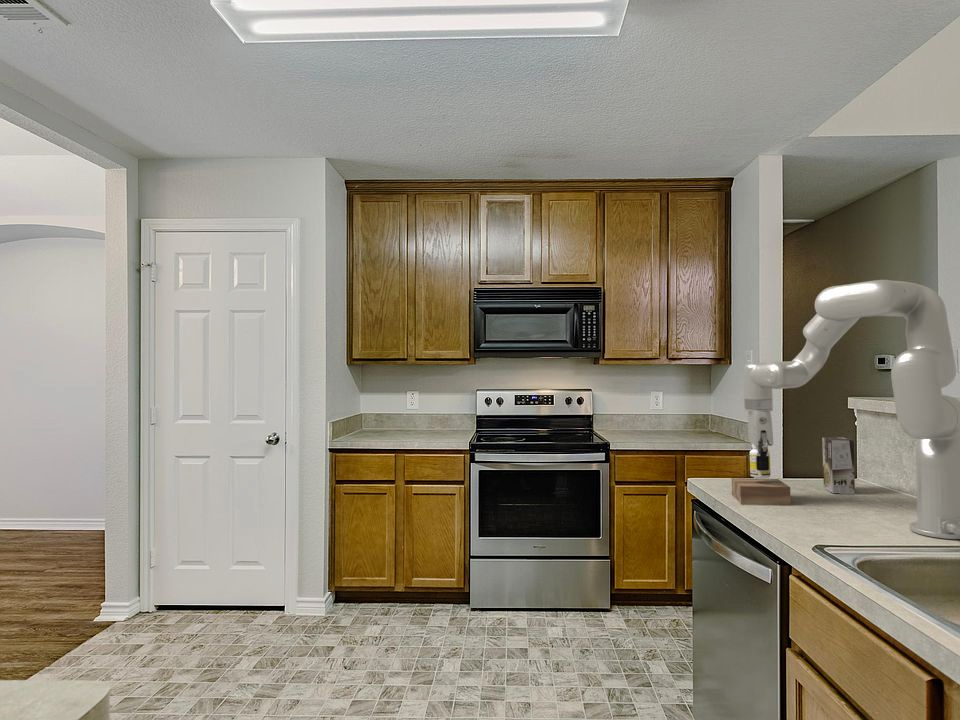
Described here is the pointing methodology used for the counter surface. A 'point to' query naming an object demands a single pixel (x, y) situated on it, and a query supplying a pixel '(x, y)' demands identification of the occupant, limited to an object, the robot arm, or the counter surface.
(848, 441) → the coffee box
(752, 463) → the supplement bottle
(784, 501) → the walnut block
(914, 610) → the counter surface
